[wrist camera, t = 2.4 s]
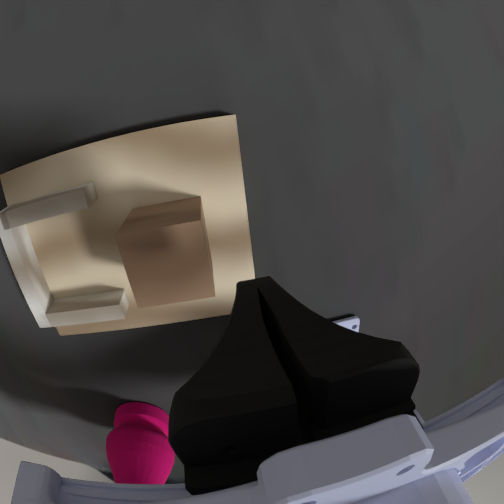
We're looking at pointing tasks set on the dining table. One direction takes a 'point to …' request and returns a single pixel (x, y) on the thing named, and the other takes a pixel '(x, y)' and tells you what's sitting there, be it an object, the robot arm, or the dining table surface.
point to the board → (112, 217)
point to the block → (167, 253)
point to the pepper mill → (140, 445)
